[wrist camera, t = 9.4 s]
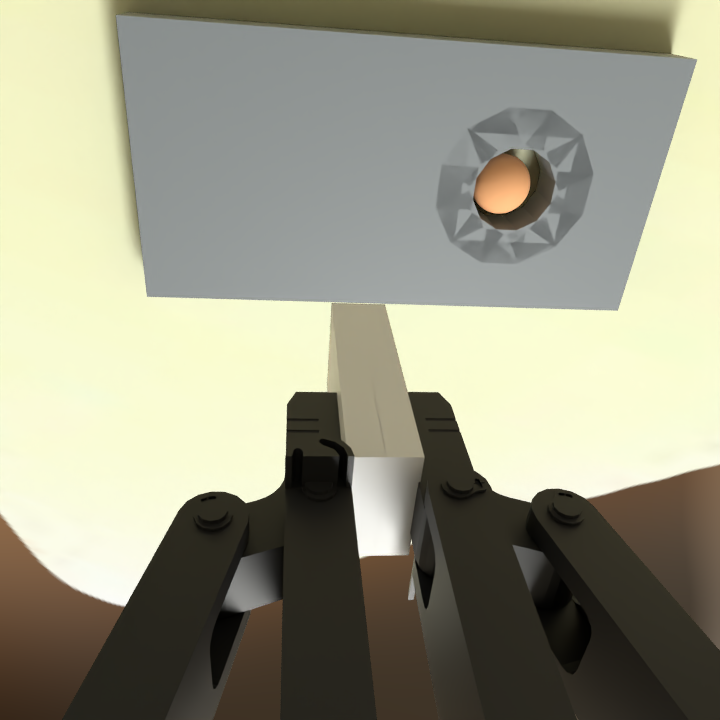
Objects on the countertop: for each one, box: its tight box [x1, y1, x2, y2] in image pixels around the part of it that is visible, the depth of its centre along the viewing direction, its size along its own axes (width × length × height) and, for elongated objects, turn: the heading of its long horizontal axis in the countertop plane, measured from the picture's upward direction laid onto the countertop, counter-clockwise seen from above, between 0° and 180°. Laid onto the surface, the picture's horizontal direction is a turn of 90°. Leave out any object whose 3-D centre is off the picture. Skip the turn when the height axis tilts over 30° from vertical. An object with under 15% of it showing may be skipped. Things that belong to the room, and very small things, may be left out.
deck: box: [116, 12, 697, 310], centre depth 35 cm, size 28×14×2 cm, turn 86°
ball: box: [473, 154, 530, 214], centre depth 35 cm, size 3×3×3 cm
